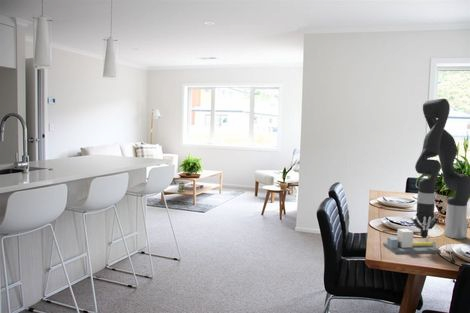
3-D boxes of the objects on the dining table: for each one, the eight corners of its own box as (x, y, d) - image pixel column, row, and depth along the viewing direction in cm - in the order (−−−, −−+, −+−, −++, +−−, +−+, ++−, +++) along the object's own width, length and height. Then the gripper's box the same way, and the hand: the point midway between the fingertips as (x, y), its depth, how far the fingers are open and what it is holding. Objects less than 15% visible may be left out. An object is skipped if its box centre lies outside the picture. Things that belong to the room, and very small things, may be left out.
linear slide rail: (426, 244, 200) (426, 233, 200) (440, 252, 188) (441, 241, 188) (383, 245, 198) (383, 234, 198) (395, 253, 186) (395, 242, 186)
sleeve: (406, 243, 196) (407, 228, 195) (412, 247, 190) (413, 231, 190) (396, 244, 195) (397, 228, 194) (402, 247, 190) (403, 232, 189)
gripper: (434, 199, 196) (432, 234, 198) (408, 200, 195) (406, 235, 197) (444, 203, 189) (441, 239, 190) (416, 203, 187) (414, 240, 189)
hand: (423, 237), depth 193 cm, fingers closed
